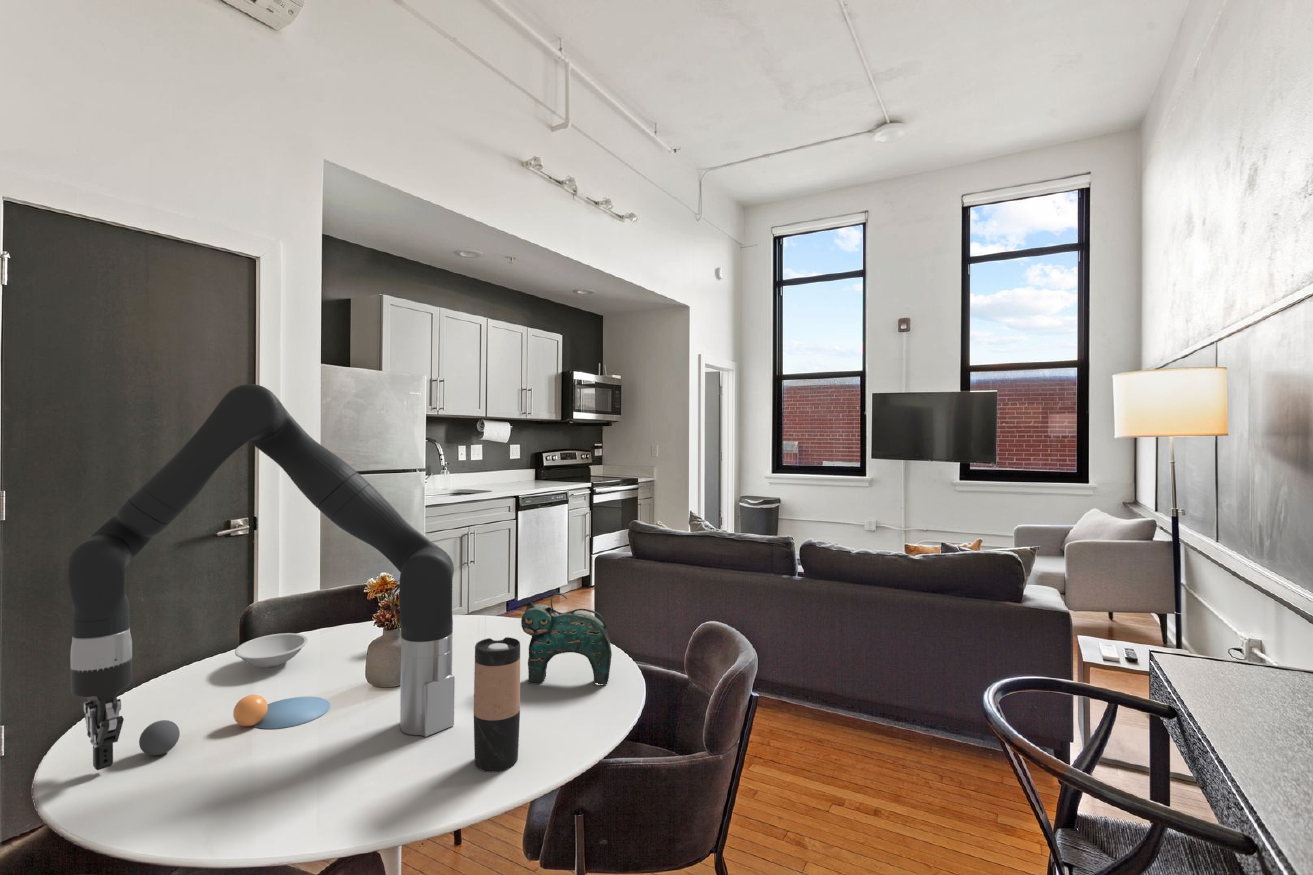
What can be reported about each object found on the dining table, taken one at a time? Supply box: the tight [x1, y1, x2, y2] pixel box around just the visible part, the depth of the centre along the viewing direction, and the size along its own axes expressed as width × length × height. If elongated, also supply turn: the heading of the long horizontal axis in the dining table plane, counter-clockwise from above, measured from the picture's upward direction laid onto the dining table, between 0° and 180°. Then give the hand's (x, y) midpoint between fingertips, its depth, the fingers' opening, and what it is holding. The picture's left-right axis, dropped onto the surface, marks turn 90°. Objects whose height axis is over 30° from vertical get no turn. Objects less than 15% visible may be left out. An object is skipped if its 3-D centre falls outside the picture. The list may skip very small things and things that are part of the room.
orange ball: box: [232, 694, 268, 727], centre depth 122 cm, size 6×6×6 cm
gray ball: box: [138, 719, 181, 757], centre depth 110 cm, size 6×6×6 cm
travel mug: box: [473, 636, 521, 773], centre depth 110 cm, size 8×8×20 cm
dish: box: [234, 632, 309, 668], centre depth 151 cm, size 18×14×5 cm
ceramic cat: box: [520, 592, 613, 684], centre depth 145 cm, size 20×6×20 cm, turn 87°
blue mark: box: [252, 696, 331, 730], centre depth 127 cm, size 14×14×1 cm
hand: (103, 766), depth 104 cm, fingers closed
